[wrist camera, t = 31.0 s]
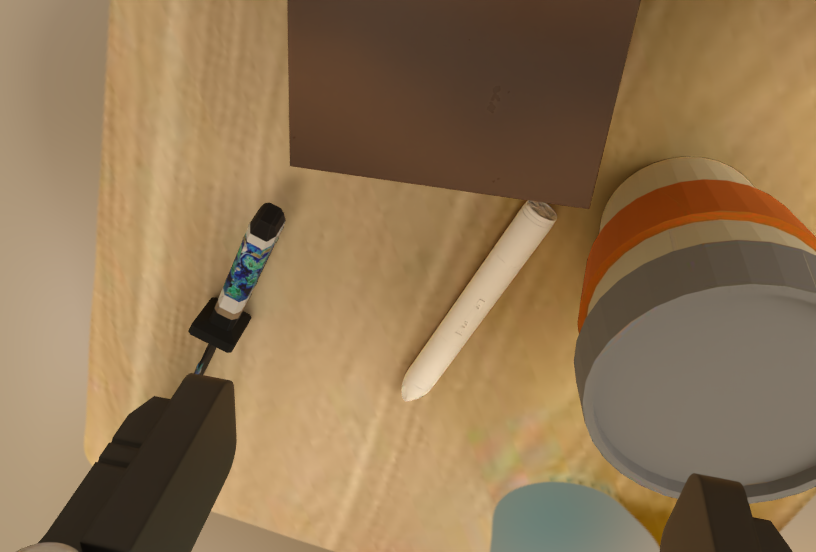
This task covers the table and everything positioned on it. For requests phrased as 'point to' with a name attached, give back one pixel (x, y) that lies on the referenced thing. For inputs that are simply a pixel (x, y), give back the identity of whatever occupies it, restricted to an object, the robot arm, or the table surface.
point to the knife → (238, 286)
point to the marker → (479, 297)
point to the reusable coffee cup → (700, 333)
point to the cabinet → (458, 91)
